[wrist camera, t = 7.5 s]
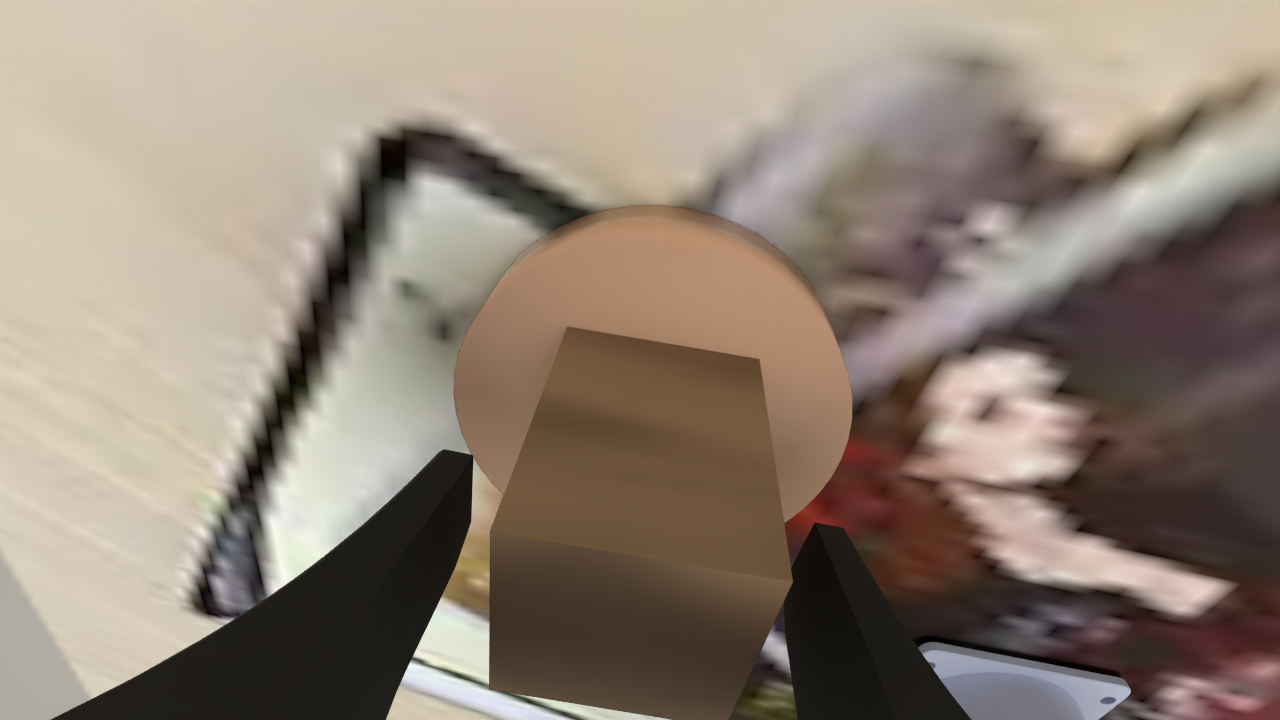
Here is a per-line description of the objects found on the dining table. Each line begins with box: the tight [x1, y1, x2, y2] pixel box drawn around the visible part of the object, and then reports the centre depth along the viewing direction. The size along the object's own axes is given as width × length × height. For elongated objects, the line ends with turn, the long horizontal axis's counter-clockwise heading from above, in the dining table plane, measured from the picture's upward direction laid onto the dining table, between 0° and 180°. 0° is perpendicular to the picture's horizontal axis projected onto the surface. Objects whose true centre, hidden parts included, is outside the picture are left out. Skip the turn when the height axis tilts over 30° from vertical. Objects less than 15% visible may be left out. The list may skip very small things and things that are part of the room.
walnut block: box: [489, 326, 793, 720], centre depth 12 cm, size 4×4×6 cm
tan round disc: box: [454, 205, 852, 523], centre depth 16 cm, size 10×10×2 cm
